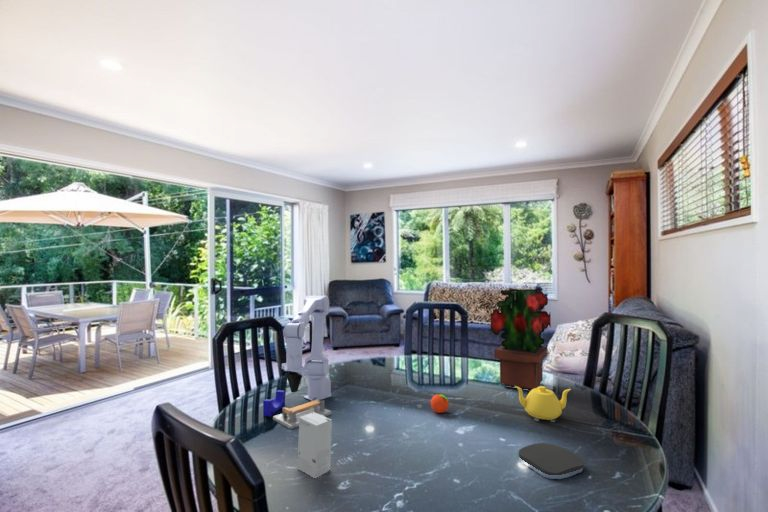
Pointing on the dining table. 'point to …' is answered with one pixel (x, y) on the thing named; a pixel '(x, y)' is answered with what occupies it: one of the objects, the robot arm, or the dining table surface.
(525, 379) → the potted plant
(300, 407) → the light brown wooden bar
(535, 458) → the media streaming box
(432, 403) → the clementine
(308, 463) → the skincare box
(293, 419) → the mount
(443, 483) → the dining table surface
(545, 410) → the teapot
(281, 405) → the blue notched block
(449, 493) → the dining table surface
